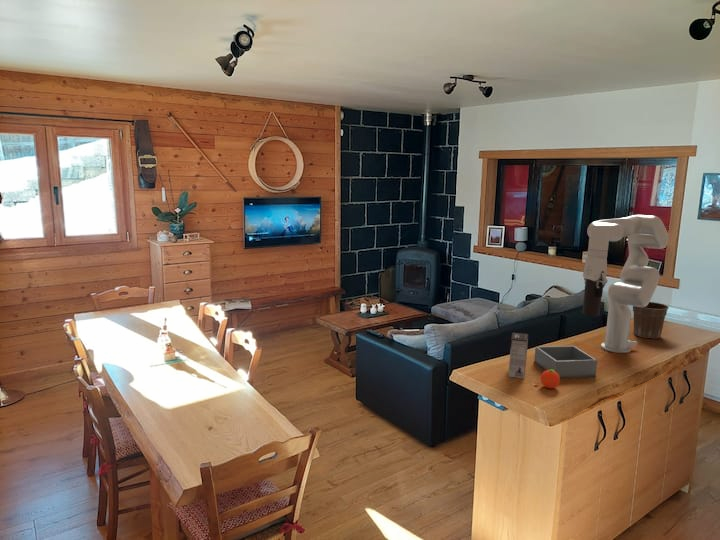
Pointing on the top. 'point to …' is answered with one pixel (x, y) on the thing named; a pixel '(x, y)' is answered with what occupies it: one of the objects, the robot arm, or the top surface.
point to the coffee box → (518, 355)
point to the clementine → (550, 378)
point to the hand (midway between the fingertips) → (592, 294)
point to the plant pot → (649, 320)
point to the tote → (566, 361)
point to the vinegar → (591, 299)
